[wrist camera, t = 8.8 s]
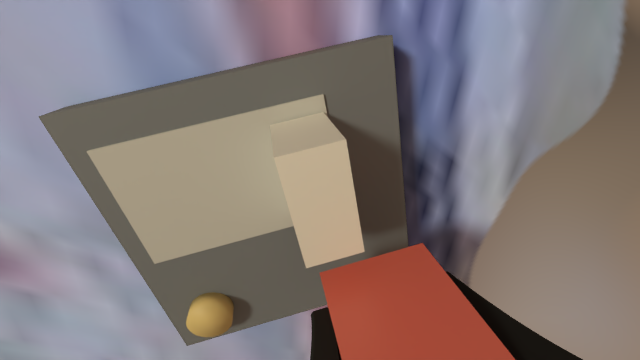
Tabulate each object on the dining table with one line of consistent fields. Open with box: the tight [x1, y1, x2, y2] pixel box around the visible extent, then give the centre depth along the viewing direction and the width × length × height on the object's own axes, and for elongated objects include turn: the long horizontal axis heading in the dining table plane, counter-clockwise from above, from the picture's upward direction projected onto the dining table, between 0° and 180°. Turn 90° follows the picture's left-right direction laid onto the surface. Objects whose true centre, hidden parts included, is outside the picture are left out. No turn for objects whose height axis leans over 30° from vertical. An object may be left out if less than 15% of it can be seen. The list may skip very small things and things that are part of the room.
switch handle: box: [270, 112, 365, 268], centre depth 10 cm, size 4×2×3 cm, turn 11°
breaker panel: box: [39, 35, 408, 346], centre depth 13 cm, size 12×12×2 cm
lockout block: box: [320, 243, 515, 360], centre depth 10 cm, size 4×4×5 cm
